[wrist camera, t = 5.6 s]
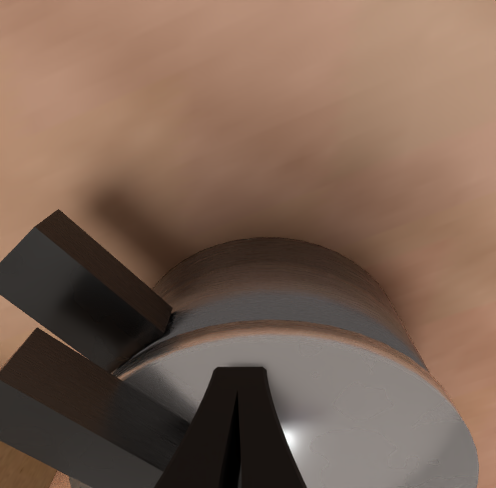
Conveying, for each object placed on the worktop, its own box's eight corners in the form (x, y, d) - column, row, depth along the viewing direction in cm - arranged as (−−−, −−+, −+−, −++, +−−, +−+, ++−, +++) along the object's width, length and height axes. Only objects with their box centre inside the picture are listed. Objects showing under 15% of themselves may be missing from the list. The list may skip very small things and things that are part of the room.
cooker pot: (449, 367, 20) (520, 481, 15) (252, 471, 24) (251, 587, 19) (202, 76, 14) (168, 85, 8) (-1, 282, 18) (-110, 375, 13)
